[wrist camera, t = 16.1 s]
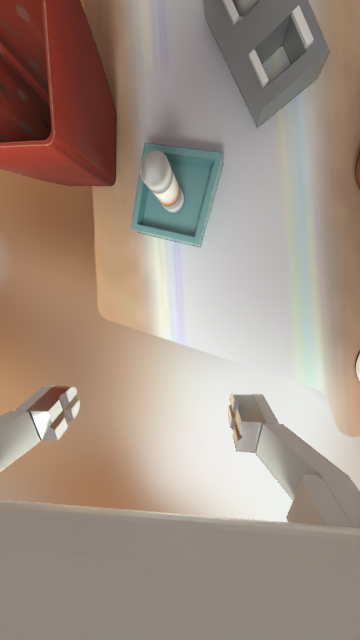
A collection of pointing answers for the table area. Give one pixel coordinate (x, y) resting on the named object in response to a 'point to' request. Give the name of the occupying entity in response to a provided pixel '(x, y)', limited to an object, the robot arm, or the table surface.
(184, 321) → the table surface
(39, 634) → the robot arm
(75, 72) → the plant pot
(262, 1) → the fuse block
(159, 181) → the grey capped cylinder
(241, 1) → the fuse
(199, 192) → the tray
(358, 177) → the canister
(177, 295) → the table surface
